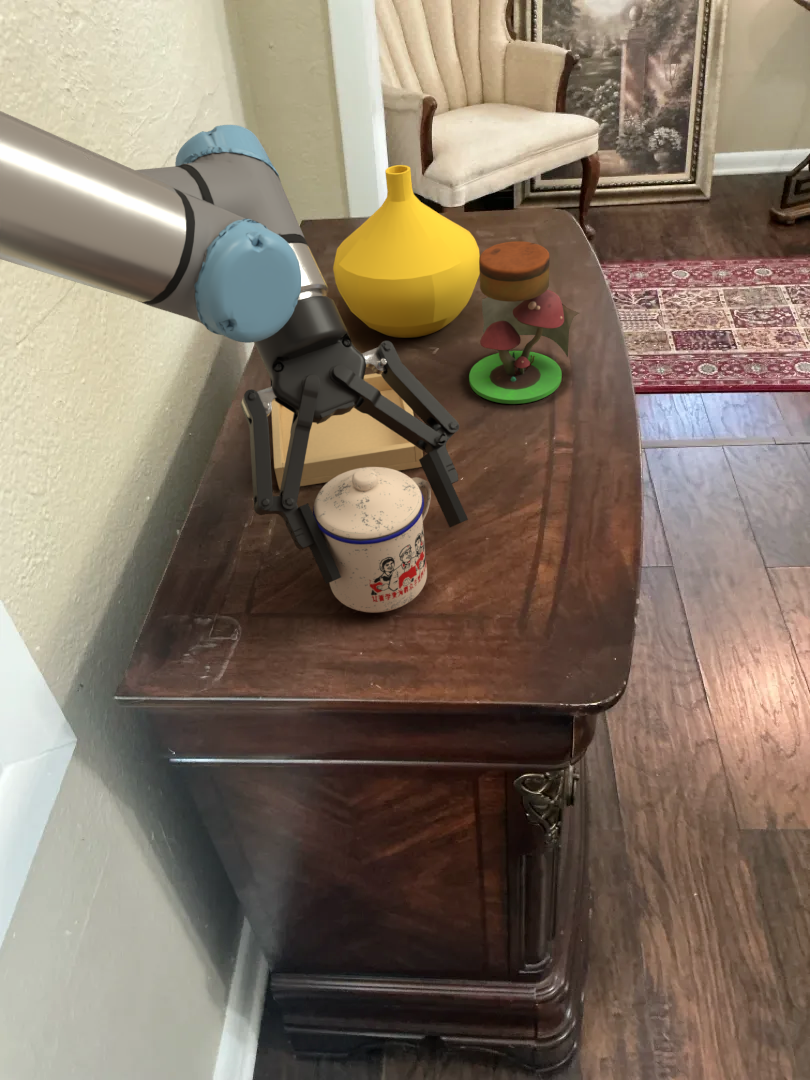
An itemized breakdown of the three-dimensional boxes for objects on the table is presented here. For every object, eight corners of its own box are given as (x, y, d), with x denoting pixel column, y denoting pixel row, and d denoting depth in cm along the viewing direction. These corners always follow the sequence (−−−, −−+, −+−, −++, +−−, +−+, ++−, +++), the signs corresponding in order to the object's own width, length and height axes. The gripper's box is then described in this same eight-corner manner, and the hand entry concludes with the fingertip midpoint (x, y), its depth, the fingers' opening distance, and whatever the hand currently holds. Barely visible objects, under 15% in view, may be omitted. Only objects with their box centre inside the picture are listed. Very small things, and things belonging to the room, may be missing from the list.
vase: (328, 355, 108) (302, 203, 95) (357, 287, 121) (338, 145, 108) (474, 356, 105) (468, 198, 92) (488, 286, 118) (484, 139, 105)
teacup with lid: (384, 633, 71) (369, 527, 64) (306, 588, 76) (283, 484, 68) (470, 551, 78) (466, 446, 70) (393, 514, 82) (381, 412, 75)
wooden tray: (279, 490, 89) (274, 468, 87) (274, 410, 100) (270, 389, 98) (424, 466, 89) (421, 444, 87) (403, 389, 101) (401, 369, 99)
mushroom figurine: (565, 412, 94) (570, 284, 84) (454, 402, 98) (446, 277, 88) (582, 356, 102) (589, 233, 92) (478, 348, 106) (474, 229, 96)
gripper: (399, 290, 80) (497, 505, 79) (153, 374, 72) (261, 613, 72) (425, 253, 72) (533, 490, 72) (155, 342, 65) (275, 607, 65)
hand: (398, 551), depth 72 cm, fingers closed on teacup with lid, 11 cm apart
